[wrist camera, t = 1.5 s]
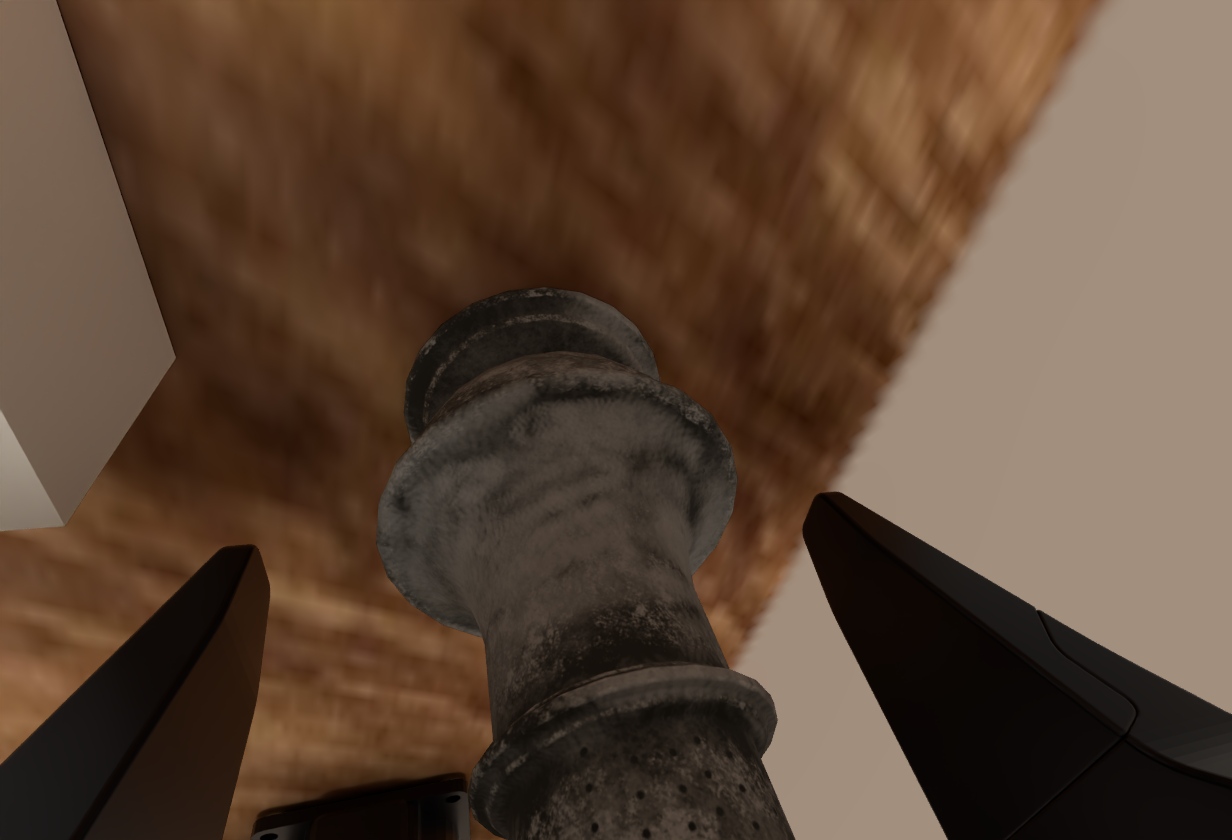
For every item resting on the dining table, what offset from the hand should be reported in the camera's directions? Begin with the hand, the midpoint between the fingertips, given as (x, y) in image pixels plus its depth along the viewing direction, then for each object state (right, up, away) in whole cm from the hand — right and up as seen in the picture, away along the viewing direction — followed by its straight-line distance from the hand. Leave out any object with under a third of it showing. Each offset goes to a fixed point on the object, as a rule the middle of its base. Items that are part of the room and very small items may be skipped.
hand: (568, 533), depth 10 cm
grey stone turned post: (-1, +2, +3) cm, 4 cm away
